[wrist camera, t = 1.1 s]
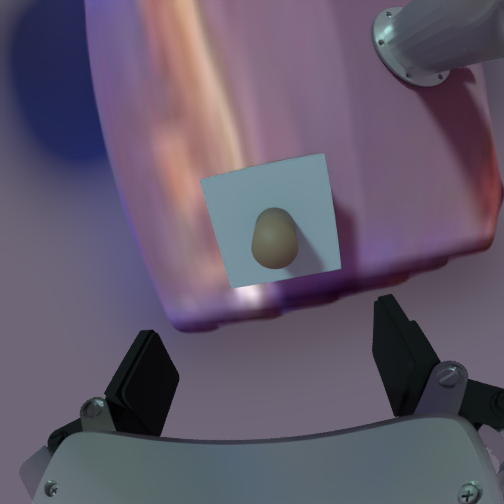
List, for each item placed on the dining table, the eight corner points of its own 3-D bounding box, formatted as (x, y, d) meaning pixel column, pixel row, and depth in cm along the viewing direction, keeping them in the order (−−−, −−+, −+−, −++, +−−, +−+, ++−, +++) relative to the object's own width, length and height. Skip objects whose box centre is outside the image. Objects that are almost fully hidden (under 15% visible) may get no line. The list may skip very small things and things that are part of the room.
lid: (322, 153, 24) (337, 158, 18) (339, 264, 29) (354, 297, 23) (202, 178, 26) (181, 192, 20) (232, 283, 31) (223, 319, 25)
